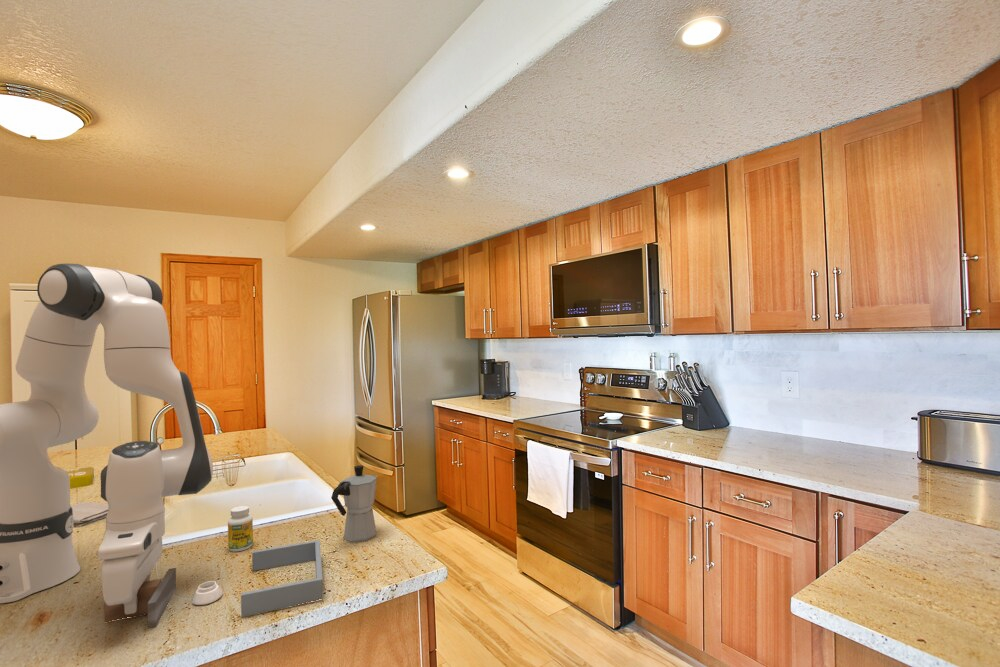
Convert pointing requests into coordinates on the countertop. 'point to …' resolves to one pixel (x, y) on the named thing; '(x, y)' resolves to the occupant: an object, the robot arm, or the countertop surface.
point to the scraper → (147, 600)
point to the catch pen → (284, 593)
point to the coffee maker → (357, 505)
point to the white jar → (207, 593)
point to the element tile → (81, 477)
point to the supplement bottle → (240, 529)
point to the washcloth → (88, 512)
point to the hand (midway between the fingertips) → (137, 603)
